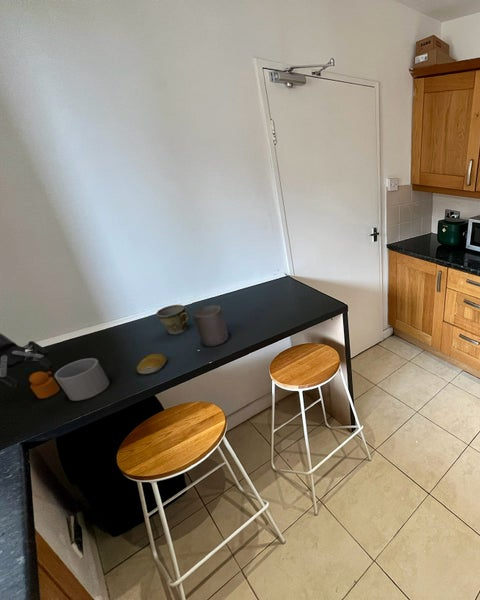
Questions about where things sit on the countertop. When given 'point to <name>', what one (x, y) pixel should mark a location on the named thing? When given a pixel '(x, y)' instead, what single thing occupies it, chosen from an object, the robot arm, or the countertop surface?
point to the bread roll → (151, 363)
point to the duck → (43, 384)
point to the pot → (82, 379)
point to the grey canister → (211, 325)
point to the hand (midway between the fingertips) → (35, 376)
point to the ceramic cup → (173, 318)
